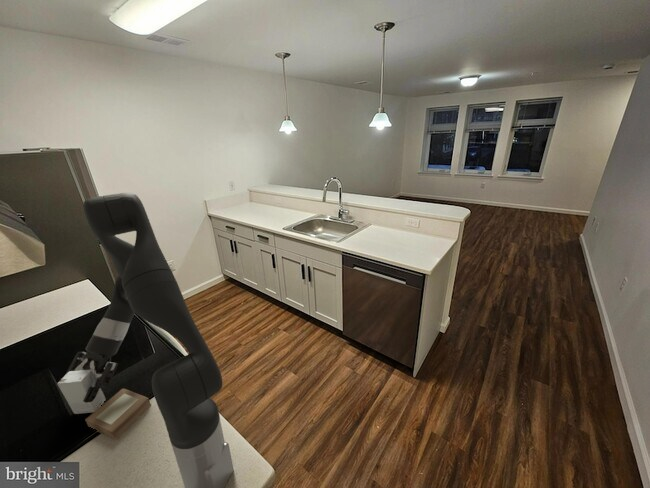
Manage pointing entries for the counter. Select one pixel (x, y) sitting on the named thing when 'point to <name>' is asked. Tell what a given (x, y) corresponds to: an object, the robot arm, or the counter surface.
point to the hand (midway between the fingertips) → (77, 397)
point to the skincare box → (80, 391)
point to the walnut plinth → (118, 413)
